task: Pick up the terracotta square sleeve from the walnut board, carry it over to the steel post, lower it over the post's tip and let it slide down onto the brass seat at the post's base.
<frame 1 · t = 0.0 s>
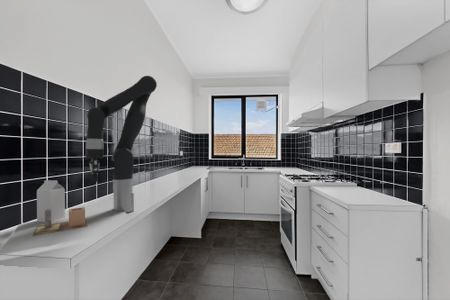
hand: (93, 181, 109), 17 cm above the table, tool pointing down, fingers open, 8 cm apart
post board: (62, 229, 90), on the table
sleeve: (77, 223, 93), point 1 cm above the table, touching post board
milk carton: (51, 223, 100), on the table
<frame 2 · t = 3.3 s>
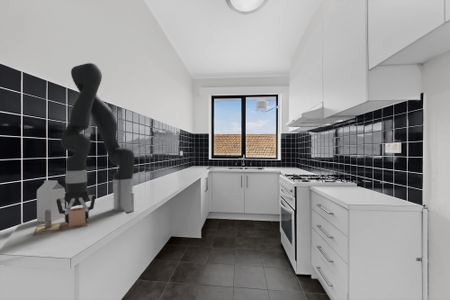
hand: (77, 221, 93), 3 cm above the table, tool pointing down, fingers closed on sleeve, 5 cm apart
sleeve: (77, 223, 93), point 2 cm above the table, touching gripper, post board
everything else where it was.
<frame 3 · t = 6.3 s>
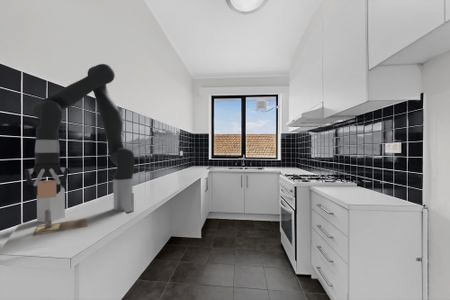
hand: (47, 194, 88), 15 cm above the table, tool pointing down, fingers closed on sleeve, 5 cm apart
sleeve: (47, 196, 88), point 14 cm above the table, touching gripper
everything else where it was.
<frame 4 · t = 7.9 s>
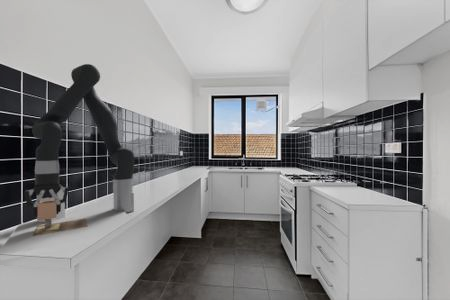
hand: (47, 214, 87), 7 cm above the table, tool pointing down, fingers closed on sleeve, 5 cm apart
sleeve: (47, 217, 87), point 6 cm above the table, touching gripper
everything else where it was.
when the fingers open (6 cm above the table, at t = 9.3 s): sleeve drops 3 cm, resting on post board.
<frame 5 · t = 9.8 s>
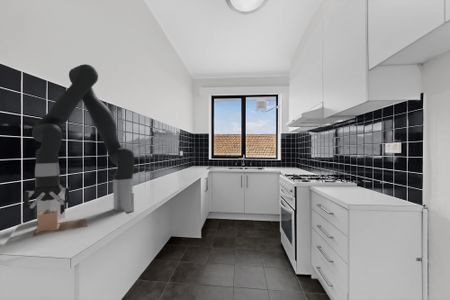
hand: (48, 215, 88), 7 cm above the table, tool pointing down, fingers open, 8 cm apart
sleeve: (48, 227, 88), point 2 cm above the table, touching post board
everything else where it was.
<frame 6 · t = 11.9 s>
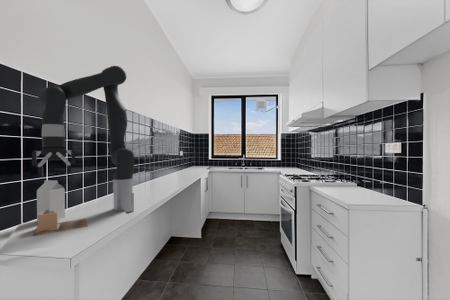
hand: (55, 175, 91), 22 cm above the table, tool pointing down, fingers open, 8 cm apart
nothing on the table moved.
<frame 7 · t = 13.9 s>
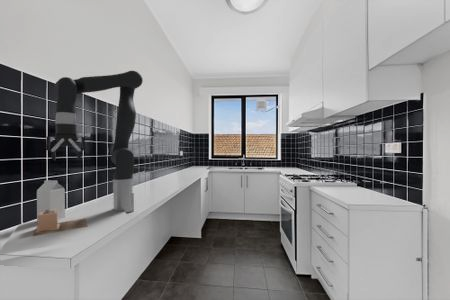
hand: (66, 160, 98), 28 cm above the table, tool pointing down, fingers open, 8 cm apart
nothing on the table moved.
at the end: sleeve 0.1 cm from the target spot on the post board, point 1.8 cm above the post board's base; sleeve tilted 0°; the gripper is holding nothing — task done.
